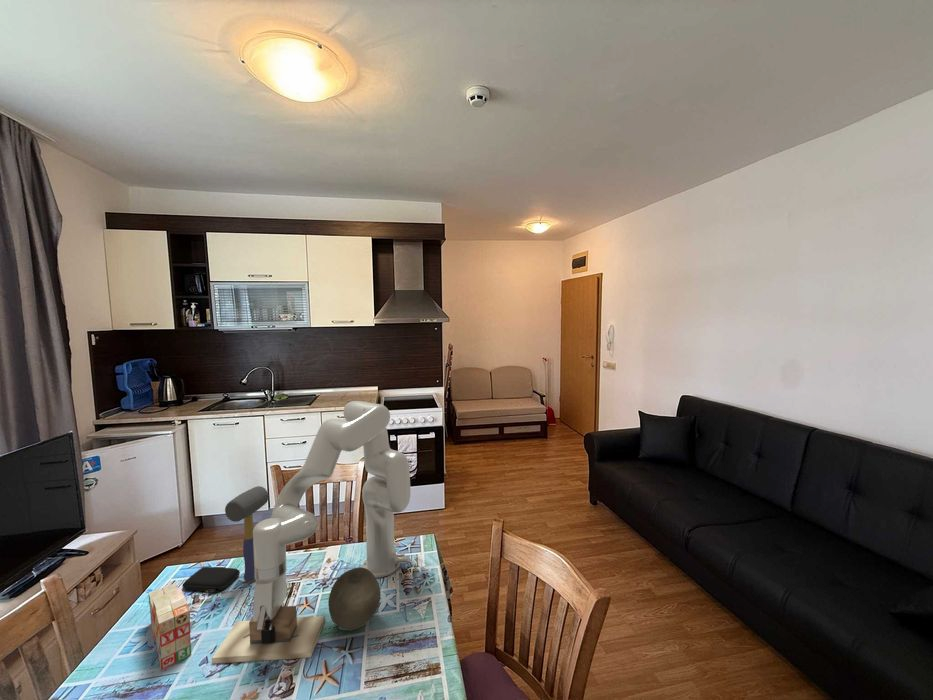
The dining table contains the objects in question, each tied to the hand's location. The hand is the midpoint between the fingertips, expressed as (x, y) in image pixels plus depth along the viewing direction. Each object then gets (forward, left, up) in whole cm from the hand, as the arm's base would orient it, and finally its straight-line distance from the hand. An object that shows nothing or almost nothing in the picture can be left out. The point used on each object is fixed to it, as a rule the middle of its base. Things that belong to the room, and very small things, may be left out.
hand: (273, 633), depth 102 cm
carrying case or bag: (+31, -26, -3) cm, 40 cm away
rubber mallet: (+18, -26, -2) cm, 32 cm away
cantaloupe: (-21, -4, -2) cm, 21 cm away
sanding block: (0, 0, -1) cm, 1 cm away
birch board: (0, 0, -2) cm, 2 cm away
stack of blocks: (+28, -3, -3) cm, 29 cm away
